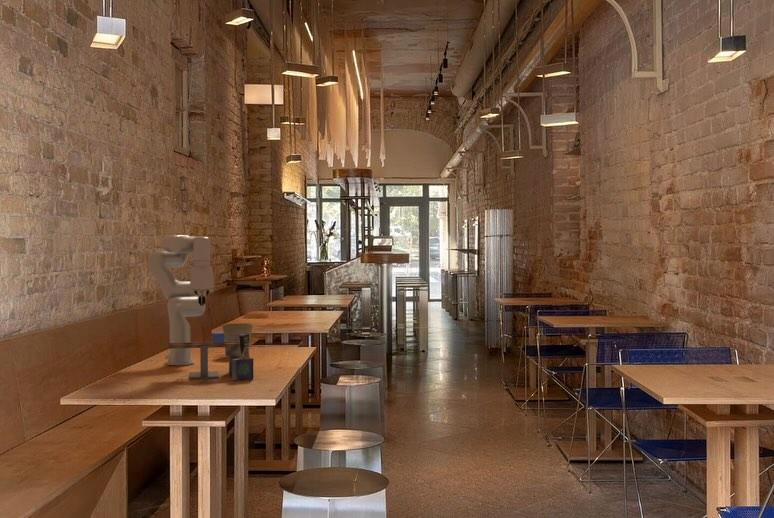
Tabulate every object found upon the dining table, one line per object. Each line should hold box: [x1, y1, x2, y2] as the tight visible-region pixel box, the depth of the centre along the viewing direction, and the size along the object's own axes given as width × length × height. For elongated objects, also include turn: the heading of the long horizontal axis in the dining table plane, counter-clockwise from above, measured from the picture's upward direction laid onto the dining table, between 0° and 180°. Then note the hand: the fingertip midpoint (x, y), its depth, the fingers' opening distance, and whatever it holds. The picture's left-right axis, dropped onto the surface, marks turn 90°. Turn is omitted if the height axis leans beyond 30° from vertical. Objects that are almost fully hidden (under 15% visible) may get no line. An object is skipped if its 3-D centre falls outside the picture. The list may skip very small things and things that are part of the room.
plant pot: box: [222, 323, 253, 343], centre depth 423 cm, size 15×15×16 cm
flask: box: [231, 354, 254, 382], centre depth 350 cm, size 9×3×11 cm, turn 121°
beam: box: [166, 341, 240, 357], centre depth 358 cm, size 30×8×6 cm, turn 103°
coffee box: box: [229, 334, 250, 359], centre depth 376 cm, size 9×6×16 cm
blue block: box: [211, 331, 225, 344], centre depth 359 cm, size 5×4×5 cm
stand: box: [189, 346, 236, 381], centre depth 359 cm, size 20×14×14 cm
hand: (201, 305), depth 376 cm, fingers closed
